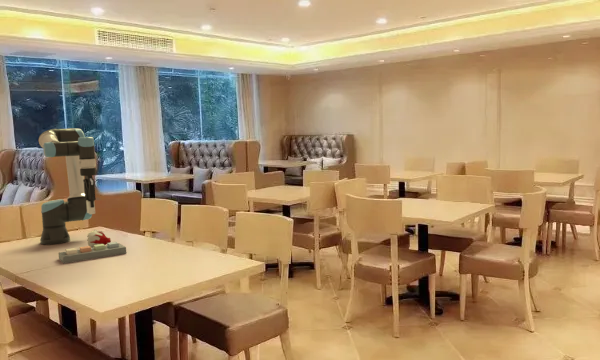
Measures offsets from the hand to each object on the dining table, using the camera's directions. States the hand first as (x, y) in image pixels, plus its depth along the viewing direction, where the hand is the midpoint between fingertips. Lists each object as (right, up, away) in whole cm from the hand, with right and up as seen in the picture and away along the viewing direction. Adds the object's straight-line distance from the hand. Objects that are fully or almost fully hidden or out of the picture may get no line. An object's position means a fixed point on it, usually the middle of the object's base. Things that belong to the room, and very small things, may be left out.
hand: (91, 213), depth 259 cm
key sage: (+8, -18, -8) cm, 21 cm away
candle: (0, -19, +10) cm, 22 cm away
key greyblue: (+13, -17, -4) cm, 22 cm away
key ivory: (-3, -19, -16) cm, 25 cm away
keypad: (+5, -21, -10) cm, 23 cm away
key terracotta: (+2, -18, -12) cm, 22 cm away
